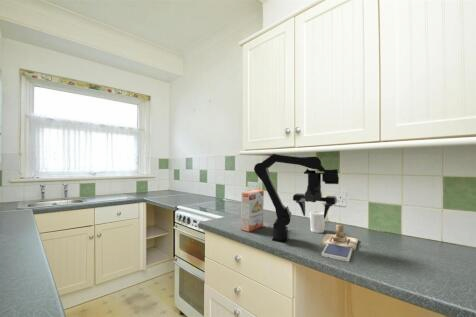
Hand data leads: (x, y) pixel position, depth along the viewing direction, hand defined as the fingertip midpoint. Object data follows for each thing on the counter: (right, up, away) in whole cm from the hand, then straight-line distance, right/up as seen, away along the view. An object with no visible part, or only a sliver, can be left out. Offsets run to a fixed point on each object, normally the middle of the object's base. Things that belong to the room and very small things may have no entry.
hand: (314, 217), depth 107 cm
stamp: (+12, -11, +1) cm, 16 cm away
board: (+12, -12, +1) cm, 17 cm away
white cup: (+7, -12, +18) cm, 23 cm away
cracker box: (-27, -12, +23) cm, 37 cm away
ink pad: (+6, -12, -12) cm, 18 cm away
